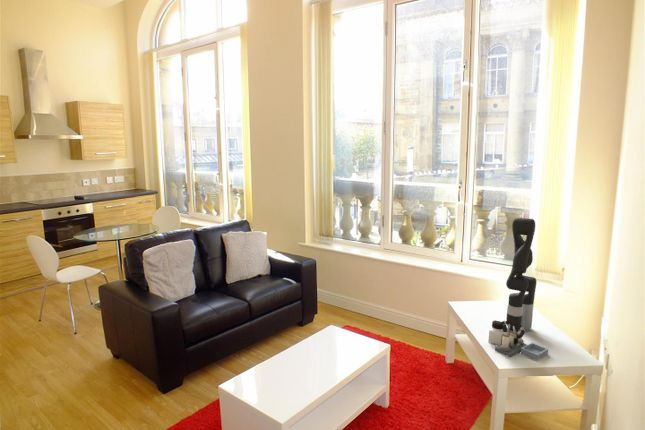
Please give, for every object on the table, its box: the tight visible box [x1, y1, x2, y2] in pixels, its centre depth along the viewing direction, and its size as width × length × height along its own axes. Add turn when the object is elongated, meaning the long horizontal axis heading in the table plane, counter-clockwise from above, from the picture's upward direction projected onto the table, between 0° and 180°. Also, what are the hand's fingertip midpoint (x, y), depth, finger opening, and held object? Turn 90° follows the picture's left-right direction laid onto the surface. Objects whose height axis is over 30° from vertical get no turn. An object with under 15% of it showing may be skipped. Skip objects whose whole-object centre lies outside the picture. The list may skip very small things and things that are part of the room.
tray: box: [519, 342, 549, 362], centre depth 221 cm, size 11×9×3 cm
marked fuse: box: [509, 330, 517, 346], centre depth 225 cm, size 4×4×9 cm
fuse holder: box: [494, 327, 528, 358], centre depth 225 cm, size 18×9×11 cm, turn 125°
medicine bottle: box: [488, 319, 503, 346], centre depth 234 cm, size 7×7×12 cm
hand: (511, 342), depth 225 cm, fingers closed on marked fuse, 3 cm apart
